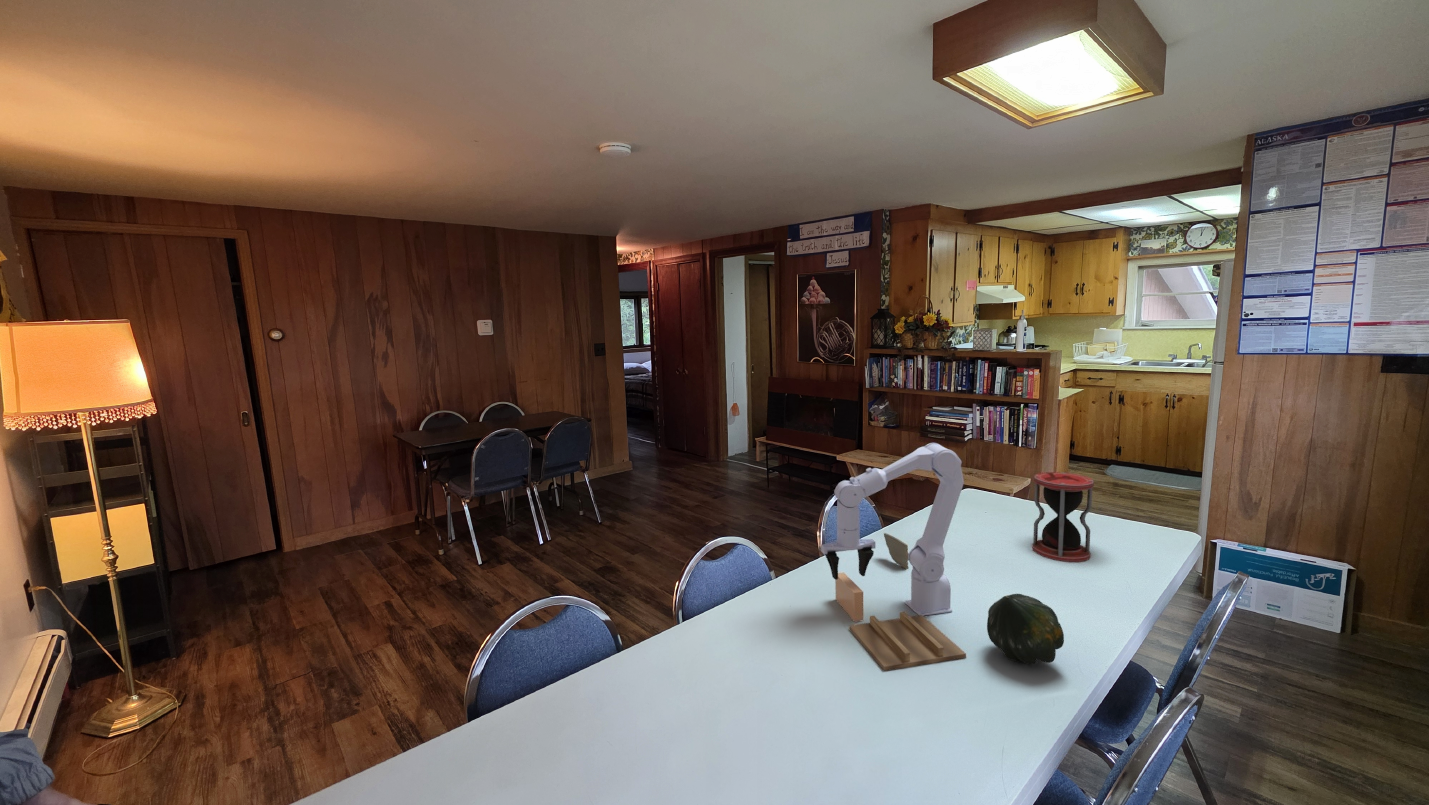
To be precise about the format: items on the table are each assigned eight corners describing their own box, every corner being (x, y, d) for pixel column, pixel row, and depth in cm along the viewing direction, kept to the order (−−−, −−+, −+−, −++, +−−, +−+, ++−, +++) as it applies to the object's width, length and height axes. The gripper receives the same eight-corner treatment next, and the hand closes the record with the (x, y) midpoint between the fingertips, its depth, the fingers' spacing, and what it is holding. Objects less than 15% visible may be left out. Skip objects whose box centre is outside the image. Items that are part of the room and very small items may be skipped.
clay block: (844, 599, 156) (843, 572, 155) (863, 621, 144) (863, 591, 143) (835, 601, 156) (835, 573, 155) (854, 622, 144) (854, 592, 143)
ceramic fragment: (912, 571, 172) (912, 540, 171) (904, 574, 171) (904, 542, 169) (889, 559, 182) (888, 529, 180) (881, 561, 181) (881, 531, 179)
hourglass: (1089, 549, 184) (1093, 474, 181) (1091, 567, 170) (1094, 487, 167) (1033, 540, 193) (1035, 469, 190) (1030, 557, 179) (1032, 481, 176)
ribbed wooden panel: (922, 618, 144) (922, 607, 144) (966, 657, 127) (966, 645, 126) (849, 629, 140) (849, 618, 140) (884, 670, 123) (884, 658, 123)
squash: (1034, 685, 116) (1036, 617, 114) (972, 650, 129) (973, 588, 127) (1075, 664, 123) (1078, 599, 121) (1011, 633, 136) (1013, 574, 134)
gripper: (866, 519, 152) (867, 567, 154) (816, 524, 150) (817, 573, 151) (879, 528, 145) (879, 577, 147) (826, 533, 143) (827, 584, 144)
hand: (848, 576), depth 149 cm, fingers open, 7 cm apart
